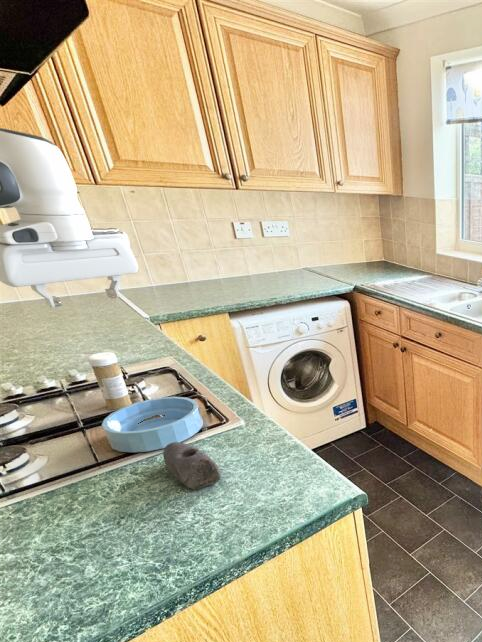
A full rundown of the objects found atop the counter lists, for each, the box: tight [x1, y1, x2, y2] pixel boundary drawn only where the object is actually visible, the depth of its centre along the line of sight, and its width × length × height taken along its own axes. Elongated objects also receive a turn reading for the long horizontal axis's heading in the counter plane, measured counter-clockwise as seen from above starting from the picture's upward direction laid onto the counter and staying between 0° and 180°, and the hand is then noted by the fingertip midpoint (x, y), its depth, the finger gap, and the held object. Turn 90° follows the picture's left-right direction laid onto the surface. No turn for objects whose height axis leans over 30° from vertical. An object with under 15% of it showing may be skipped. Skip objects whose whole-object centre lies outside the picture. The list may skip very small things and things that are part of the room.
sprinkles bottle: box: [87, 351, 133, 410], centre depth 97 cm, size 5×5×13 cm
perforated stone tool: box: [163, 442, 221, 491], centre depth 77 cm, size 15×5×7 cm, turn 56°
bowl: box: [101, 396, 204, 454], centre depth 89 cm, size 16×16×6 cm
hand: (86, 301), depth 85 cm, fingers open, 8 cm apart
